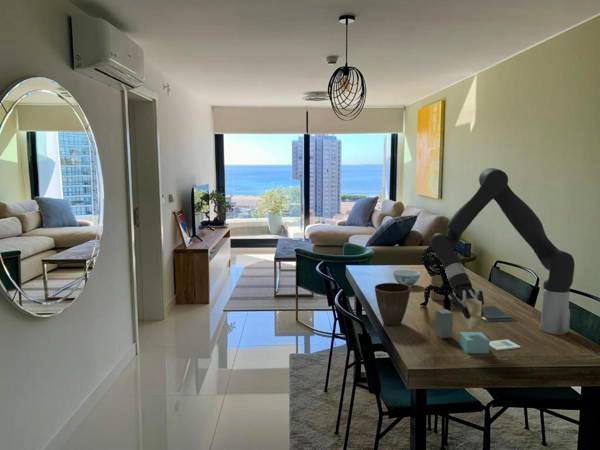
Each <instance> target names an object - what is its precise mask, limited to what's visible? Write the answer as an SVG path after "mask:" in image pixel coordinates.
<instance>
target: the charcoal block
mask: <svg viewBox="0 0 600 450" xmlns="http://www.w3.org/2000/svg"><path fill="white" fill-rule="evenodd" d="M453 314H454V313H453V312H452V311H450V310H449V309H436V310H435V335H436V336H438V337H439V338H440V339H447V338H448V339H450V338H452V337H453V318H454V317H453V316H454V315H453Z"/></svg>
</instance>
